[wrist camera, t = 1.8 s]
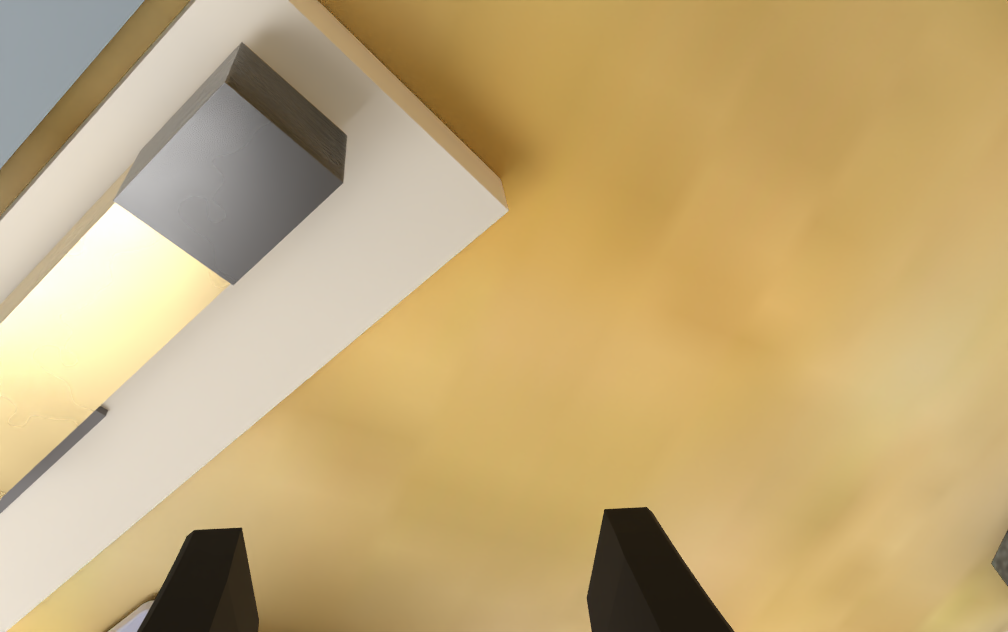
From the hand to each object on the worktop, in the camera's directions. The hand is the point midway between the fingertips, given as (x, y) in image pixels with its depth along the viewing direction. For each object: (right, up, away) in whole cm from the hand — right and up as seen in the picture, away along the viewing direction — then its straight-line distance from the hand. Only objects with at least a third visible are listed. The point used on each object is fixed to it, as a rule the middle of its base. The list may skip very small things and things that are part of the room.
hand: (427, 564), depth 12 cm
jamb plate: (-10, +2, +9) cm, 14 cm away
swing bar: (-8, +4, +6) cm, 11 cm away
